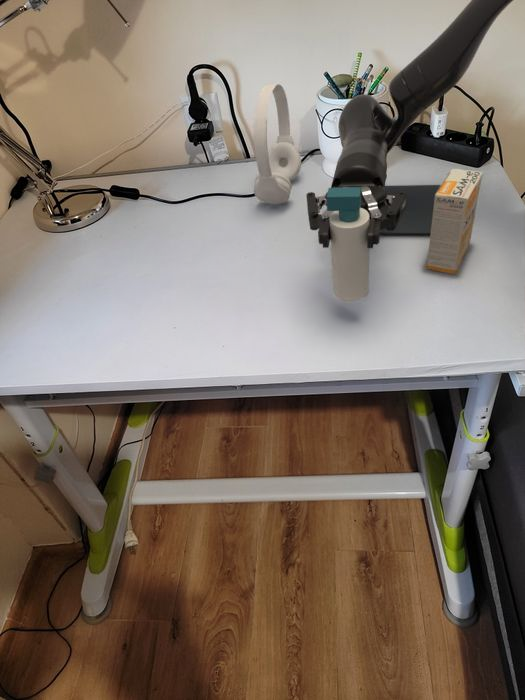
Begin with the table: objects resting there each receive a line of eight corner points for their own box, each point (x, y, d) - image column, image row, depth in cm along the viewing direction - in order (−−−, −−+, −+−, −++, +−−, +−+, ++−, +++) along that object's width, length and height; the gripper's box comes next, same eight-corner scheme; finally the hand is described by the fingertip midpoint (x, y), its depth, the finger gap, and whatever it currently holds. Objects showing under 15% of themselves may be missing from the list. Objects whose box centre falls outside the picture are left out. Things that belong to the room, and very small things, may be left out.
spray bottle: (370, 279, 74) (371, 180, 63) (367, 302, 70) (368, 202, 59) (335, 278, 75) (330, 181, 64) (330, 300, 72) (324, 202, 61)
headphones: (252, 216, 98) (233, 111, 84) (273, 170, 110) (260, 71, 96) (288, 217, 96) (275, 109, 82) (305, 170, 108) (297, 68, 94)
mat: (446, 187, 96) (446, 184, 95) (447, 236, 85) (448, 233, 85) (360, 188, 100) (360, 186, 100) (351, 235, 89) (351, 232, 89)
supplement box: (456, 276, 78) (469, 199, 69) (425, 269, 80) (433, 194, 71) (470, 246, 83) (484, 170, 73) (440, 240, 85) (450, 166, 75)
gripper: (310, 152, 74) (288, 216, 63) (412, 149, 70) (408, 216, 59) (313, 198, 79) (294, 265, 68) (408, 197, 76) (404, 267, 65)
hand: (347, 242), depth 64 cm, fingers closed on spray bottle, 5 cm apart
